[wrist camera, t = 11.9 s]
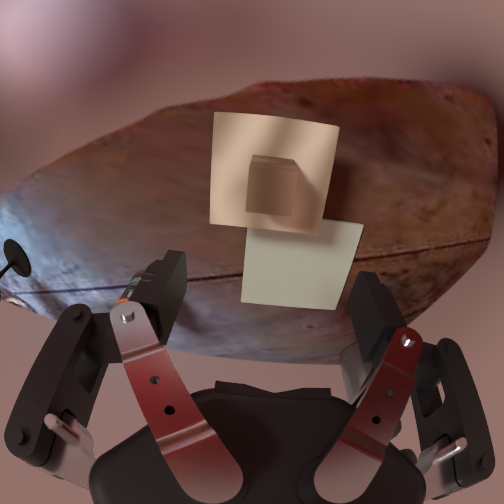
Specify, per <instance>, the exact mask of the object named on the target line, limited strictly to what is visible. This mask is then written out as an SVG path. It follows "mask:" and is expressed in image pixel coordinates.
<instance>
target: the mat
mask: <svg viewBox="0 0 504 504" xmlns="http://www.w3.org/2000/svg"><path fill="white" fill-rule="evenodd" d="M362 229H363V224H358V223H351V222H344V221H337V220H330V219H323V218H322V221H321V226H320V230H319V235H313V234H304V233H296V232H287V231H278V230H269V229H260V228H250V227H248V228H247V239H246V250H245V261H244V272H243V284H242V296H241V302H247V303H256V304H266V305H277V306H288V307H301V308H314V309H329V310H335V309H336V306H337V304H338V301H339V298H340V296H341V293H342V290H343V287H344V285H345V282H346V279H347V276H348V273H349V270H350V267H351V264H352V261H353V258H354V255H355V252H356V249H357V246H358V243H359V239H360V236H361V233H362Z"/></svg>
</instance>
